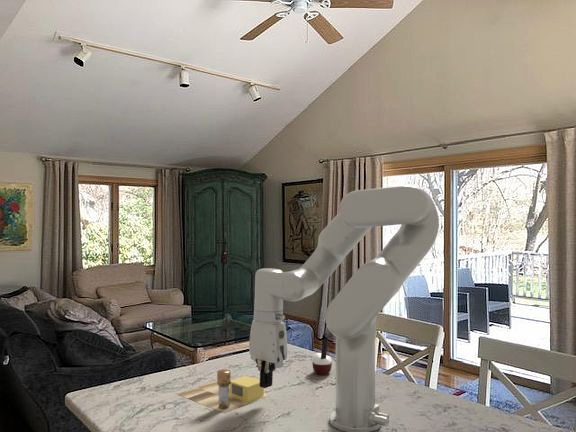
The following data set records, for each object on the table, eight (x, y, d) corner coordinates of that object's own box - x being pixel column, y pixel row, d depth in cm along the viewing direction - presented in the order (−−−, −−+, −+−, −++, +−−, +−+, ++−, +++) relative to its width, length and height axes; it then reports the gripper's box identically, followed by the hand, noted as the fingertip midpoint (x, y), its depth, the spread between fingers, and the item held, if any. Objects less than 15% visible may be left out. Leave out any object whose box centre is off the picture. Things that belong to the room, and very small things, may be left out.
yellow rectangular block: (263, 396, 127) (263, 381, 127) (247, 402, 122) (247, 387, 122) (245, 390, 131) (245, 375, 131) (229, 396, 127) (229, 381, 127)
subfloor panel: (268, 399, 127) (268, 394, 128) (224, 418, 115) (224, 413, 115) (220, 383, 141) (220, 379, 141) (176, 398, 128) (176, 393, 128)
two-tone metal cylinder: (233, 406, 119) (233, 371, 120) (223, 410, 117) (223, 374, 117) (224, 403, 122) (224, 368, 122) (214, 407, 119) (214, 371, 119)
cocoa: (314, 369, 154) (313, 333, 155) (333, 370, 153) (332, 333, 154) (310, 378, 145) (308, 339, 146) (330, 378, 144) (328, 339, 144)
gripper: (299, 318, 120) (297, 390, 120) (257, 309, 129) (255, 375, 129) (280, 323, 114) (277, 398, 114) (238, 313, 124) (235, 382, 124)
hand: (265, 386), depth 122 cm, fingers closed
